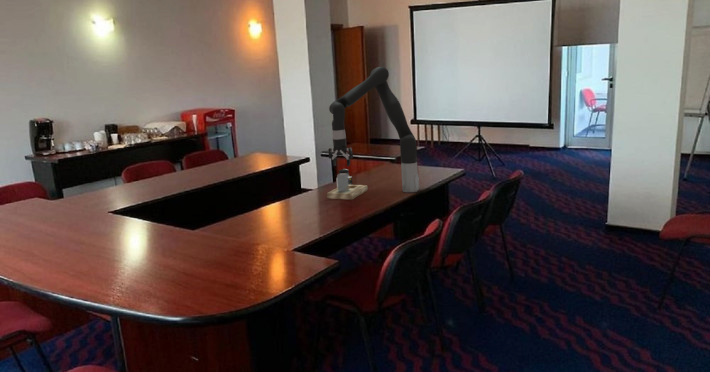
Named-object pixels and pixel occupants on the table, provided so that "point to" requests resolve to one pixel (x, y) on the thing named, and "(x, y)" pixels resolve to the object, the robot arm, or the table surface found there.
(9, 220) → the table surface
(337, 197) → the pocket board
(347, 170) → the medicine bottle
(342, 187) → the metal block
